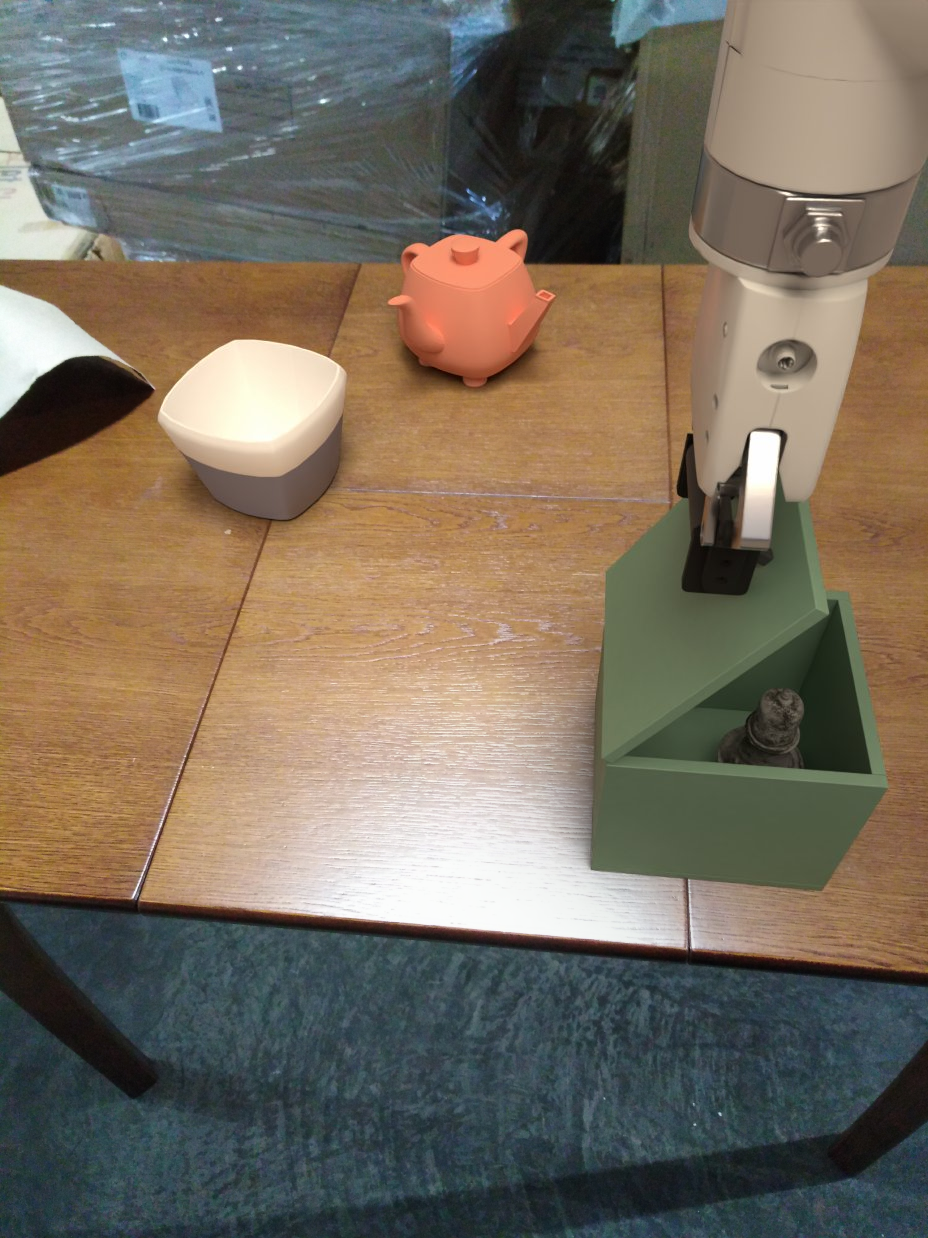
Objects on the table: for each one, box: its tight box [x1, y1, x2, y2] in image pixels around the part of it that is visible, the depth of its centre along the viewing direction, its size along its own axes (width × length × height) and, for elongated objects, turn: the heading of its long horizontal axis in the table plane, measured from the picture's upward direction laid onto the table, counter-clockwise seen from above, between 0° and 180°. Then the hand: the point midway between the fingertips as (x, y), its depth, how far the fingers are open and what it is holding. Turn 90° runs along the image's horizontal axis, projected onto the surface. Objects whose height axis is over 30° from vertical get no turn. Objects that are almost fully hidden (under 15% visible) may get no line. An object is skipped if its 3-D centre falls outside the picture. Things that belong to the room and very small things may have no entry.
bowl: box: [157, 339, 348, 521], centre depth 86 cm, size 15×15×11 cm
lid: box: [601, 444, 829, 763], centre depth 49 cm, size 16×15×5 cm
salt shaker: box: [717, 687, 804, 769], centre depth 60 cm, size 6×6×12 cm
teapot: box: [387, 228, 557, 388], centre depth 97 cm, size 16×17×14 cm
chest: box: [590, 589, 890, 892], centre depth 61 cm, size 16×15×14 cm
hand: (709, 538), depth 47 cm, fingers closed on lid, 6 cm apart
